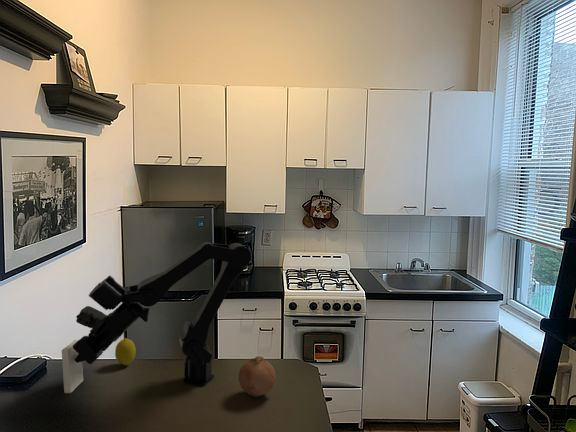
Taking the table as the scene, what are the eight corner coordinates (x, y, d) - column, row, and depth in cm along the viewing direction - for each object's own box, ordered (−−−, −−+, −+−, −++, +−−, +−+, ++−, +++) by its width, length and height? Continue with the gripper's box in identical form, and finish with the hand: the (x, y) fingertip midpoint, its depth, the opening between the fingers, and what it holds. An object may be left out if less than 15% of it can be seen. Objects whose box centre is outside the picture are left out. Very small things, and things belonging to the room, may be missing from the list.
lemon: (129, 370, 128) (129, 342, 127) (111, 368, 129) (111, 340, 128) (139, 362, 133) (139, 336, 132) (122, 360, 134) (122, 334, 134)
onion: (247, 384, 121) (248, 348, 120) (280, 391, 118) (281, 353, 117) (231, 400, 112) (232, 361, 111) (266, 407, 109) (267, 367, 108)
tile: (83, 380, 120) (80, 340, 120) (70, 392, 113) (68, 350, 113) (77, 380, 120) (74, 340, 120) (64, 393, 113) (61, 350, 113)
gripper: (111, 288, 124) (71, 326, 125) (81, 307, 106) (34, 352, 106) (140, 317, 125) (99, 355, 126) (115, 341, 106) (67, 386, 107)
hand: (76, 361), depth 116 cm, fingers closed
